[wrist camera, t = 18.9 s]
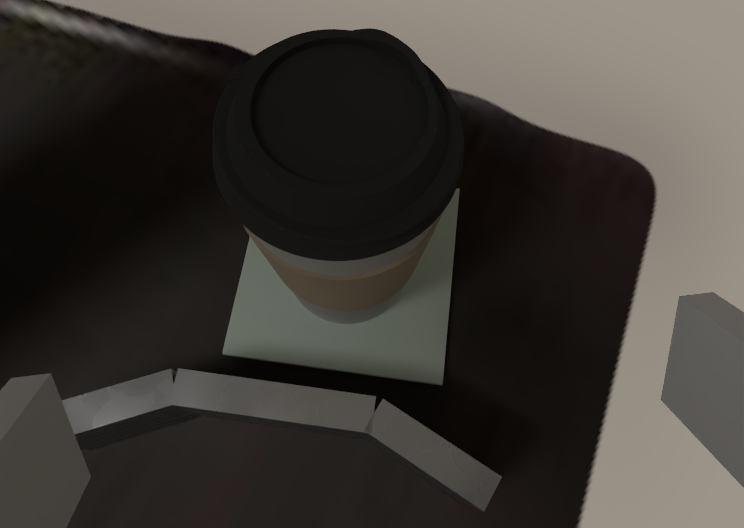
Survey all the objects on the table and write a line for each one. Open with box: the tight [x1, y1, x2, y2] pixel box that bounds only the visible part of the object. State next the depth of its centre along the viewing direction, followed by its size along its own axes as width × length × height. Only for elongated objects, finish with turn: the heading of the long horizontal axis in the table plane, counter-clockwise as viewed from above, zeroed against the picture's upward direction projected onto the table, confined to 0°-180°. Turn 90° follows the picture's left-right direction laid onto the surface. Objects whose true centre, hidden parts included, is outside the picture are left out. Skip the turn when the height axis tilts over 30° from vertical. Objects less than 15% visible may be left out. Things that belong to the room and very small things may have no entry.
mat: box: [222, 188, 460, 386], centre depth 31 cm, size 12×12×1 cm
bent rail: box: [62, 368, 502, 511], centre depth 26 cm, size 20×4×5 cm, turn 82°
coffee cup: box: [212, 29, 464, 324], centre depth 24 cm, size 9×9×15 cm
